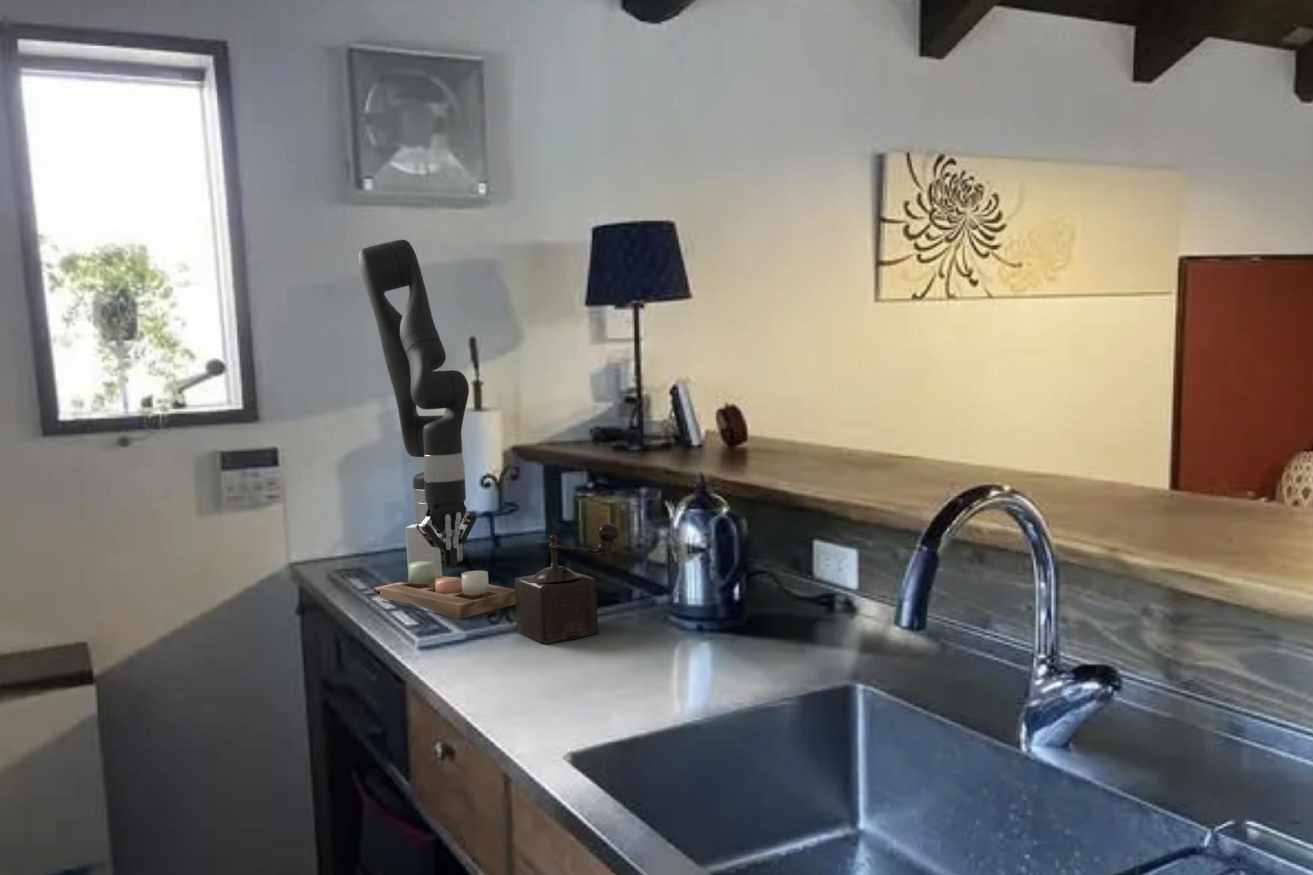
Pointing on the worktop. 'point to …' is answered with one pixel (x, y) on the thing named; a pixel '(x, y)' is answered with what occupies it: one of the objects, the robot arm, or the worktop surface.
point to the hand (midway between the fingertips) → (449, 567)
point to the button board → (450, 598)
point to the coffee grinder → (560, 596)
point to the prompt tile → (387, 585)
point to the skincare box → (421, 549)
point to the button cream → (475, 582)
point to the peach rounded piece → (448, 585)
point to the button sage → (422, 572)
